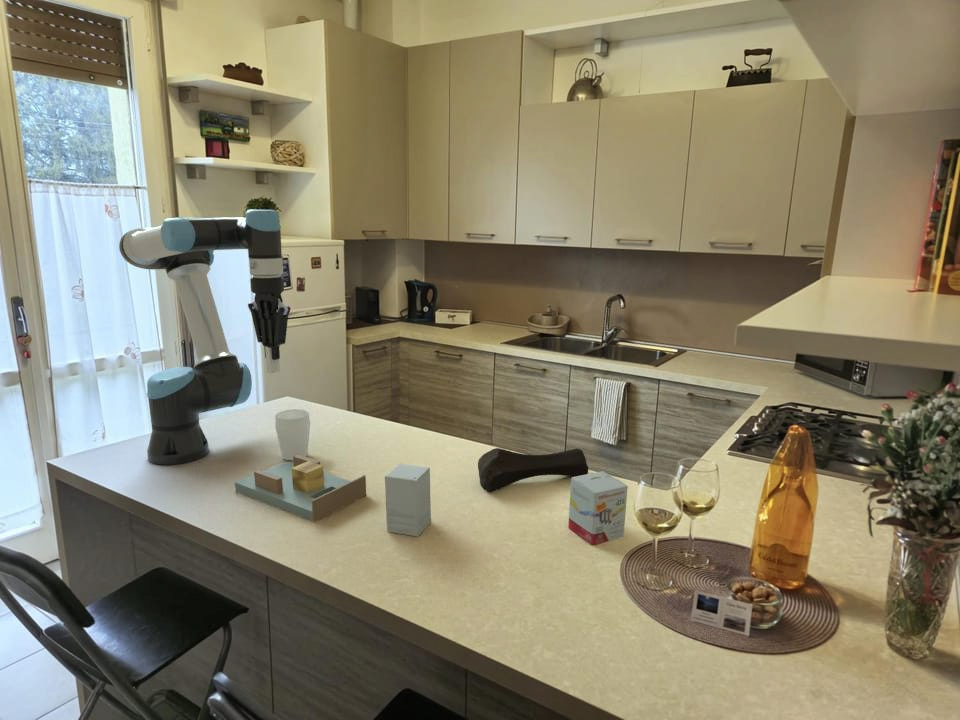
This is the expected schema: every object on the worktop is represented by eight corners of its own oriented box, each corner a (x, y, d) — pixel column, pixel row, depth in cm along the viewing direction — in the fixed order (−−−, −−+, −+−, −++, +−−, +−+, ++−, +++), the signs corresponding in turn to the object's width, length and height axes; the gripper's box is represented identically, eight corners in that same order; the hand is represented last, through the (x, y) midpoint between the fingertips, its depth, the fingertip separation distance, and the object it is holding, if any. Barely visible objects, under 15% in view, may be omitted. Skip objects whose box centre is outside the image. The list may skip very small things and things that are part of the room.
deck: (235, 491, 149) (233, 468, 148) (289, 469, 162) (287, 448, 161) (314, 522, 135) (312, 497, 134) (366, 495, 148) (365, 472, 147)
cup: (302, 463, 166) (299, 420, 163) (271, 461, 168) (268, 418, 165) (317, 451, 175) (315, 410, 172) (287, 449, 176) (285, 408, 174)
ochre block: (292, 488, 146) (291, 468, 145) (309, 480, 150) (308, 461, 149) (307, 493, 143) (306, 473, 142) (324, 485, 147) (323, 465, 146)
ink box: (592, 546, 126) (594, 492, 123) (567, 528, 133) (569, 476, 131) (625, 537, 130) (629, 484, 127) (599, 519, 137) (602, 469, 135)
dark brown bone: (478, 501, 150) (581, 498, 160) (490, 472, 144) (596, 471, 154) (468, 465, 158) (567, 464, 168) (479, 437, 152) (581, 438, 162)
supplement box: (432, 521, 136) (431, 467, 133) (417, 537, 129) (416, 480, 126) (401, 516, 138) (399, 462, 135) (385, 531, 131) (383, 475, 128)
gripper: (235, 275, 150) (243, 371, 156) (271, 279, 143) (278, 378, 149) (262, 273, 156) (268, 365, 162) (297, 276, 149) (303, 372, 155)
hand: (273, 371), depth 155 cm, fingers closed
